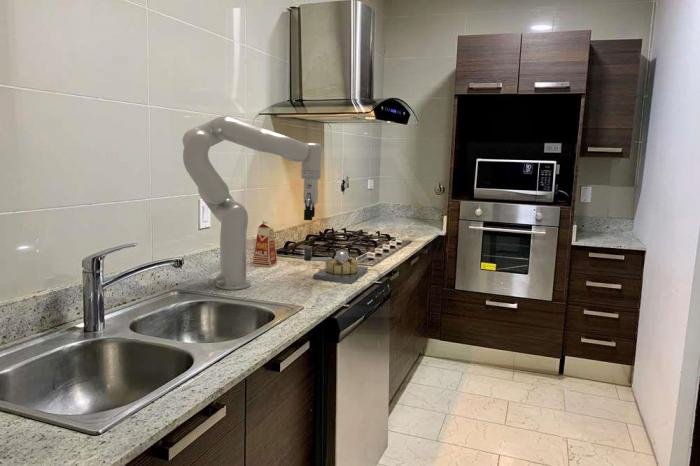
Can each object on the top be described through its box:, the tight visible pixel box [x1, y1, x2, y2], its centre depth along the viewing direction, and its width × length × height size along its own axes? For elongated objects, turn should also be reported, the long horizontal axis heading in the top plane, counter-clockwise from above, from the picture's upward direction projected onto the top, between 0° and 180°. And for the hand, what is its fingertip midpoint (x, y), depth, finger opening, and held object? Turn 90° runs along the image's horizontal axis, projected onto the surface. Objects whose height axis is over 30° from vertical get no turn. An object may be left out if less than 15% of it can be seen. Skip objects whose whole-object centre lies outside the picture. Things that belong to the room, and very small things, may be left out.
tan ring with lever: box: [303, 246, 359, 274], centre depth 213 cm, size 23×13×10 cm, turn 107°
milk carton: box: [251, 220, 278, 268], centre depth 228 cm, size 9×9×20 cm
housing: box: [312, 250, 369, 285], centre depth 215 cm, size 22×16×10 cm
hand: (309, 218), depth 204 cm, fingers open, 9 cm apart
